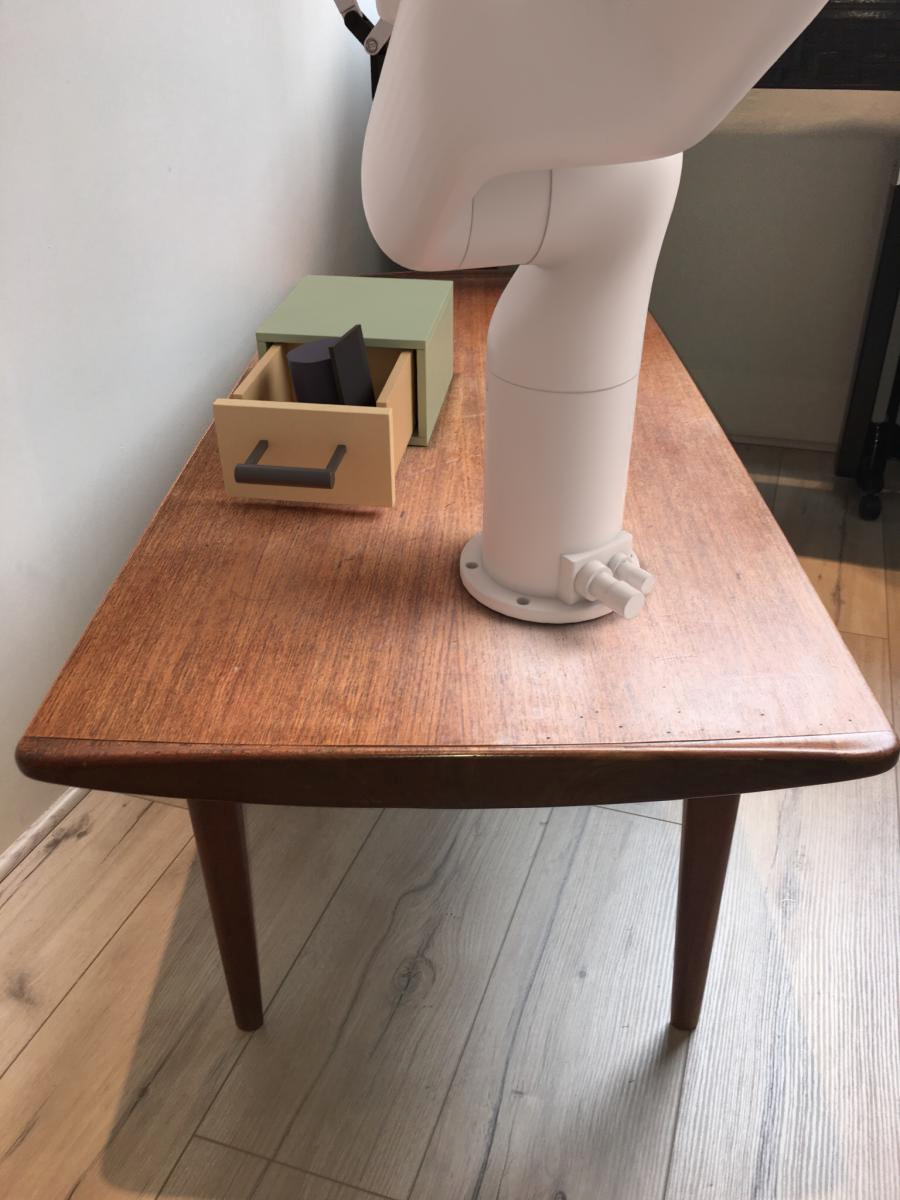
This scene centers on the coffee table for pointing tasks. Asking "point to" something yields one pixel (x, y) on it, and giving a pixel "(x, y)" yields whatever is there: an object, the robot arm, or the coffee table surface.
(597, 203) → the robot arm
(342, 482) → the drawer
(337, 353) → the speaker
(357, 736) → the coffee table surface
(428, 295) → the cabinet
